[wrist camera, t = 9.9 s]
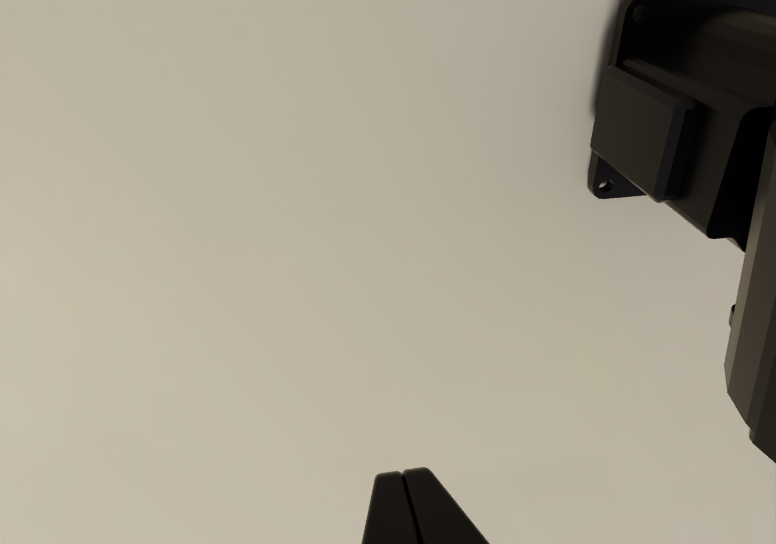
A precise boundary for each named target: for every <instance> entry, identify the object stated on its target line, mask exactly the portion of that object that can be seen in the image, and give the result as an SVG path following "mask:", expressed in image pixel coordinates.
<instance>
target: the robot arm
mask: <svg viewBox="0 0 776 544" xmlns="http://www.w3.org/2000/svg"><path fill="white" fill-rule="evenodd" d="M639 5H641V6H642V13H641V15H640V17H638V18H637V19H636V20H633V12H634V10H635V9H636V8H637V7H638V6H639ZM590 146H591V148H592V149H593V155H592V160H591V166H590V171H589V177H588V189H589V191H590V192H591V193H592V194H593V195H594V196H596V197H597V198H599V199H609V198H621V197H632V196H643V195H648V196H649V197H650V198H651V199H653V200H654V201H655V202H658V203H661V202H664V203H665V204H667V205H668V206H669V207H670V208H672V209H673V210H674V211H675V212H677V213H678V214H679V215H680V216H682V217H683V218H684V219H685V220H687V221H688V222H689V223H690V224H692V225H693V226H694V227H695V228H697V229H698V230H699V231H700V232H702V233H703V234H704V235H706V236H707V237H708V238H711V239H719V238H726V239H728V240H729V241H730V242H732V243H733V244H734V245H735V246H737V247H738V248H739V249H741V250H742V251H743V252H745V257H744V263H743V268H742V273H741V278H740V284H739V289H738V294H737V299H736V304H735V305H733V306H732V307H731V313H730V318H729V325H730V327H731V331H730V336H729V342H728V347H727V352H726V357H725V363H724V368H725V377H726V385H727V393H728V394H729V396H730V398H731V399H732V401H733V403H734V404H735V406H736V408H737V409H738V411H739V413H740V415H741V416H742V418H743V420H744V421H745V423H746V424H747V425H748V426H749V427H750V430H749V438H750V440H751V441H752V443H753V444H754V445H755V446H757V447H758V448H759V449H760V450H761V451H762V452H763V453H765V454H766V455H767V456H768V457H769V458H770V459H771V460H773V461H774V462H775V463H776V0H624V2H623V3H622V4H621V6H620V9H619V12H618V17H617V22H616V28H615V34H614V39H613V45H612V50H611V56H610V61H609V67H608V68H607V69H606V70H605V72H604V73H603V76H602V82H601V87H600V93H599V99H598V104H597V110H596V116H595V121H594V127H593V133H592V138H591V144H590ZM606 179H608V182H607V184H606V185H605V186H604V187H601V188H599V186H600V184H601V182H602V181H604V180H606ZM362 544H489V542H488V541H487V540H486V539H485V537H484V536H483V535H482V534H481V532H480V531H479V530H478V529H477V528H476V526H475V525H474V524H473V523H472V521H471V520H470V519H469V518H468V516H467V515H466V514H465V513H464V511H463V510H462V509H461V508H460V506H459V505H458V504H457V503H456V501H455V500H454V499H453V498H452V496H451V495H450V494H449V493H448V491H447V490H446V489H445V488H444V487H443V485H442V484H441V483H440V482H439V480H438V479H437V478H436V477H435V475H434V474H433V473H432V472H431V471H430V470H429V469H428V468H426V467H421V468H414V469H407V470H404V471H403V473H402V474H401V472H399V471H393V472H387V473H380V474H378V475H377V476H376V477H375V481H374V486H373V490H372V495H371V500H370V505H369V510H368V515H367V520H366V525H365V529H364V534H363V539H362Z"/></svg>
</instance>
